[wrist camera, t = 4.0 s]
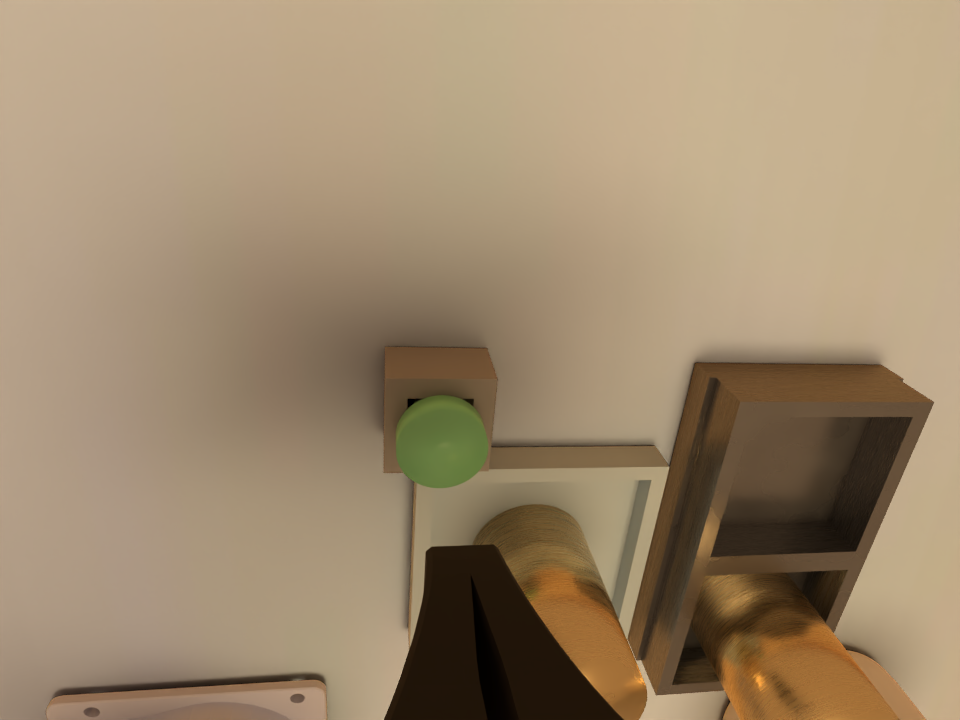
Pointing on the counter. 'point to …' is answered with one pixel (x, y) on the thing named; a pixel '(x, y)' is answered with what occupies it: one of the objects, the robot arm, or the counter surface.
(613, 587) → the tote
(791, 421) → the crate
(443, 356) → the button housing
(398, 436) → the button
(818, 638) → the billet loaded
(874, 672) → the pill bottle
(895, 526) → the counter surface
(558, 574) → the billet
